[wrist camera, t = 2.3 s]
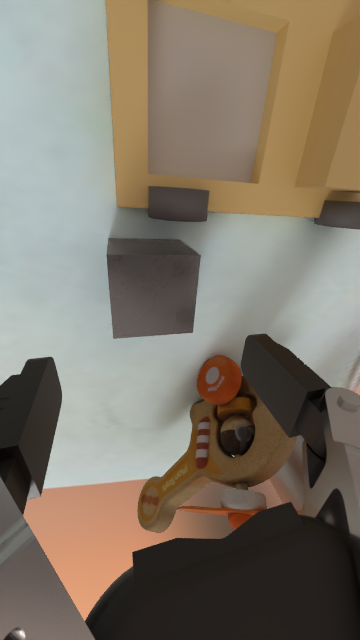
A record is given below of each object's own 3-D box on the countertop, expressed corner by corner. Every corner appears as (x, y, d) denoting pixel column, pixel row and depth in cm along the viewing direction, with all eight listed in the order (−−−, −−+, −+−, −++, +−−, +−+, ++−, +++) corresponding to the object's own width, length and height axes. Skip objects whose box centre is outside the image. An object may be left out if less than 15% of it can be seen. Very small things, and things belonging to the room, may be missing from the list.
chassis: (424, 20, 16) (521, -34, 12) (349, 224, 22) (398, 231, 18) (100, -91, 11) (93, -241, 7) (117, 213, 17) (118, 219, 13)
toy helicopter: (269, 368, 29) (375, 489, 17) (163, 470, 34) (190, 619, 22) (226, 338, 25) (325, 467, 13) (113, 457, 30) (113, 631, 18)
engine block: (179, 239, 19) (200, 255, 14) (175, 302, 22) (192, 332, 17) (108, 237, 18) (106, 254, 13) (113, 304, 20) (113, 338, 16)
